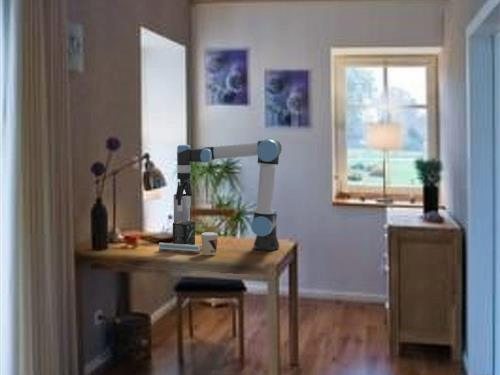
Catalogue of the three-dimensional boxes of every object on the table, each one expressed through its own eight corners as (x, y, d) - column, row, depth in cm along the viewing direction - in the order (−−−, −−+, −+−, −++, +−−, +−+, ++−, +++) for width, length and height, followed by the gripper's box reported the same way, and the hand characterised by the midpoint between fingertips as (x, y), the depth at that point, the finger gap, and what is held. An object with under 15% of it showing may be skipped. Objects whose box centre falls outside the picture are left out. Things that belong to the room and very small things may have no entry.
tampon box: (181, 244, 390) (181, 219, 388) (195, 245, 387) (195, 221, 385) (172, 247, 380) (172, 222, 379) (186, 249, 377) (186, 224, 375)
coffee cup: (211, 257, 365) (211, 236, 364) (197, 255, 370) (197, 234, 368) (221, 254, 373) (221, 233, 371) (207, 251, 378) (207, 231, 376)
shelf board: (206, 248, 386) (206, 246, 386) (198, 254, 373) (198, 251, 373) (168, 245, 392) (168, 243, 392) (159, 251, 379) (159, 248, 379)
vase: (193, 236, 419) (192, 194, 415) (183, 239, 410) (182, 196, 407) (180, 235, 424) (180, 193, 420) (170, 237, 415) (170, 195, 412)
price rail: (199, 250, 374) (199, 245, 373) (198, 251, 372) (198, 245, 372) (159, 248, 380) (159, 242, 379) (158, 248, 378) (158, 243, 378)
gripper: (185, 169, 391) (185, 205, 394) (169, 174, 367) (169, 212, 370) (197, 170, 389) (197, 205, 392) (182, 174, 365) (182, 212, 368)
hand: (184, 209), depth 381 cm, fingers open, 13 cm apart
